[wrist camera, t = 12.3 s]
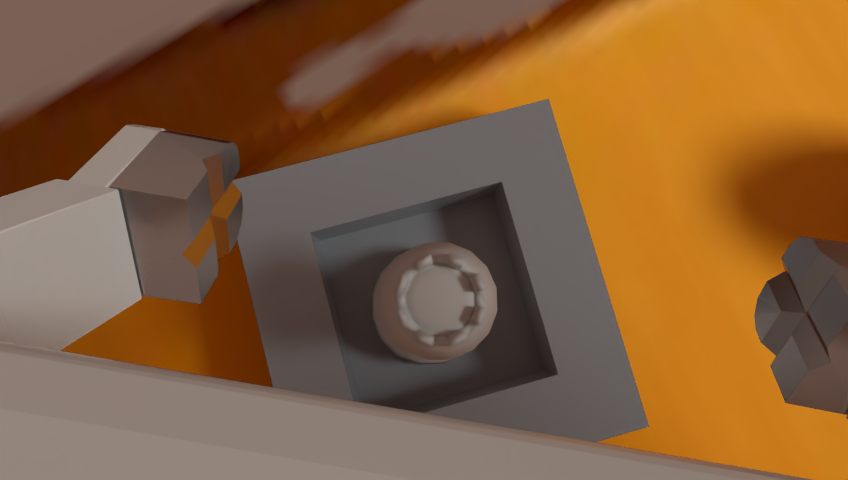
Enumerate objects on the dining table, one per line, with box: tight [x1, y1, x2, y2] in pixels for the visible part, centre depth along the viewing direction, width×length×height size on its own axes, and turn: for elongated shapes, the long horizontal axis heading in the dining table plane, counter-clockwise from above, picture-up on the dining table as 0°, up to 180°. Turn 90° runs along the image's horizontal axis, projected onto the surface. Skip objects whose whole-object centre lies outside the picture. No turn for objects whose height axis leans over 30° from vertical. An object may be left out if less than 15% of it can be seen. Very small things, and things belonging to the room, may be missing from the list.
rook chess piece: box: [371, 242, 497, 365], centre depth 21 cm, size 4×4×8 cm
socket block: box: [232, 99, 649, 442], centre depth 24 cm, size 12×12×3 cm
